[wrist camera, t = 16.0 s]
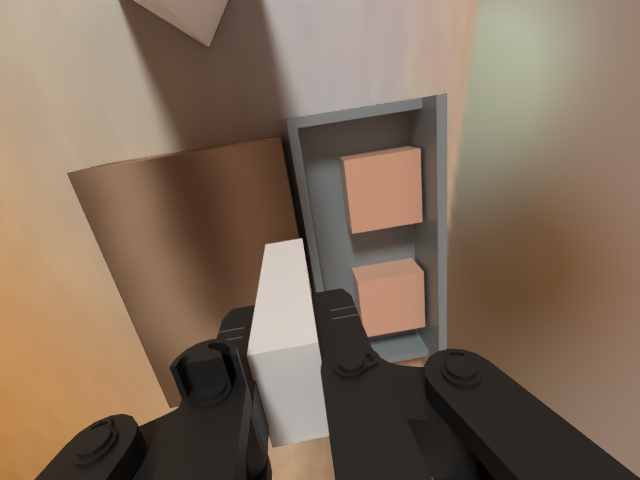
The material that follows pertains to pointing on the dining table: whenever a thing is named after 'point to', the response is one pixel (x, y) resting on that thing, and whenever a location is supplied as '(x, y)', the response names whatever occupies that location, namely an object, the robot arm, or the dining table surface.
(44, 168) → the dining table surface
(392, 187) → the tile
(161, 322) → the brown flat block
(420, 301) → the tile
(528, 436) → the robot arm
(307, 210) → the tray
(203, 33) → the milk
